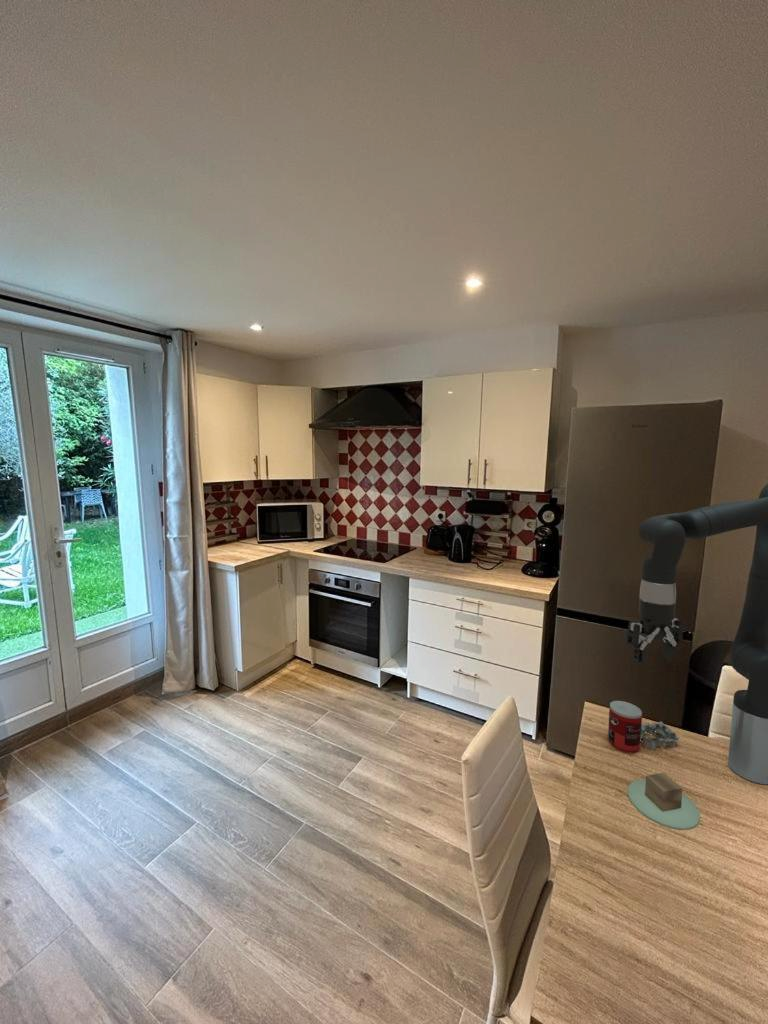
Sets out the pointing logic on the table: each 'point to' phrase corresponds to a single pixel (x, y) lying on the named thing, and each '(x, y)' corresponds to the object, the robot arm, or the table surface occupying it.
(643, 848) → the table surface
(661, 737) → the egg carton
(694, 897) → the table surface
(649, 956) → the table surface
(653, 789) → the walnut block
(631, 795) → the sage mat
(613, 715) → the canned food
